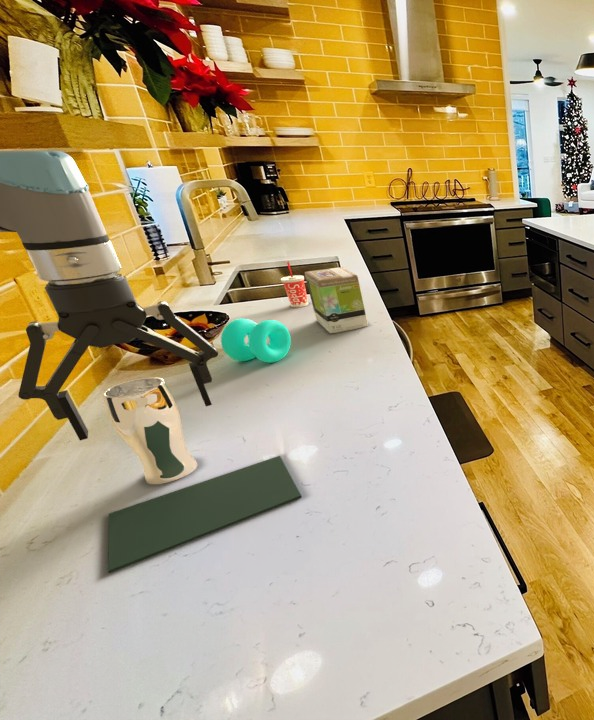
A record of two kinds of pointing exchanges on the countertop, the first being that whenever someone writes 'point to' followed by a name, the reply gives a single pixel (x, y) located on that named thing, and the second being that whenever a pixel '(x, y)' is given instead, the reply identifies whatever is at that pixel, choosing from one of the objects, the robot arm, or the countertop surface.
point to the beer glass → (151, 427)
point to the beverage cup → (295, 289)
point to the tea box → (336, 299)
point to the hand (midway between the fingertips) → (149, 418)
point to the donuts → (256, 340)
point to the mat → (196, 511)
